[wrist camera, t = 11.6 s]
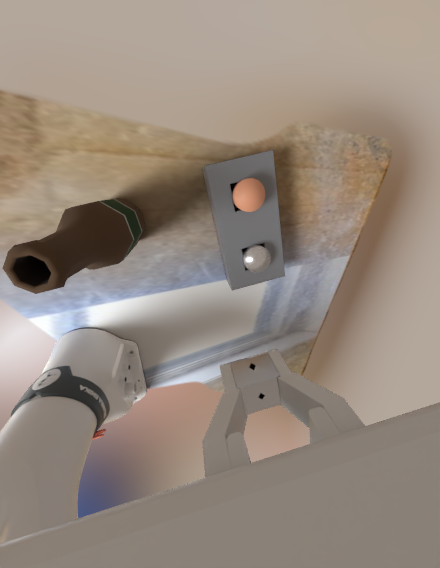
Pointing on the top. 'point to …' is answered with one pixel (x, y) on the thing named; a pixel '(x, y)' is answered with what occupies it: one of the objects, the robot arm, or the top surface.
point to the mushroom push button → (248, 195)
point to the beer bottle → (76, 245)
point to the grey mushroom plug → (256, 258)
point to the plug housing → (245, 217)
